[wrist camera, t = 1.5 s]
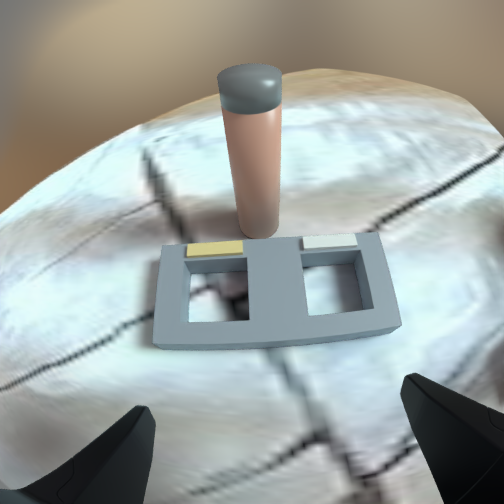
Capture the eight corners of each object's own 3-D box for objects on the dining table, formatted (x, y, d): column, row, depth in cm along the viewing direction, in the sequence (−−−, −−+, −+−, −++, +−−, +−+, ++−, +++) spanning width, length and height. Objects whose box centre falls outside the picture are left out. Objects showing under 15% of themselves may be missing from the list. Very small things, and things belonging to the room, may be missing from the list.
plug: (247, 244, 27) (227, 92, 14) (234, 214, 29) (210, 70, 16) (285, 231, 28) (292, 80, 14) (269, 203, 30) (266, 60, 16)
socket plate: (163, 349, 22) (150, 342, 20) (170, 259, 27) (160, 243, 25) (390, 333, 22) (404, 323, 19) (370, 246, 26) (379, 229, 24)
